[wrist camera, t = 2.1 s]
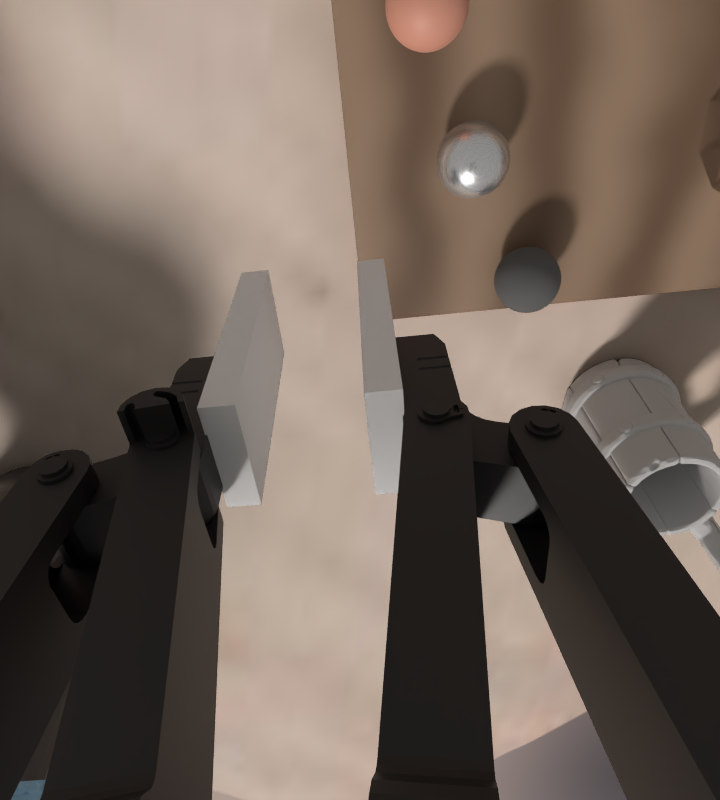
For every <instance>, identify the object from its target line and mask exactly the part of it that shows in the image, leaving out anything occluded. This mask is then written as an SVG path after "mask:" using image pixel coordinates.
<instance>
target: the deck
mask: <svg viewBox="0 0 720 800" xmlns="http://www.w3.org/2000/svg"><path fill="white" fill-rule="evenodd" d="M385 1H386V0H331V2H332V11H333V21H334V31H335V41H336V50H337V60H338V70H339V80H340V89H341V99H342V109H343V119H344V129H345V138H346V148H347V158H348V168H349V177H350V187H351V197H352V207H353V216H354V226H355V236H356V246H357V256H358V261H365V260H375V259H384V264H385V270H386V277H387V284H388V291H389V298H390V304H391V311H392V318H393V319H399V318H409V317H420V316H430V315H440V314H451V313H461V312H471V311H482V310H492V309H503V308H508V307H507V306H505V305H504V304H503V303H502V302H501V300H500V299H499V298H498V296H497V294H496V291H495V287H494V275H495V272H496V269H497V266H498V265H499V263H500V261H501V260H502V259H503V258H504V257H505V256H506V255H507V254H509V253H510V252H512V251H513V250H515V249H518V248H521V247H537V248H541V249H543V250H545V251H547V252H548V253H550V254H551V255H552V256H553V257H554V258H555V260H556V261H557V263H558V265H559V267H560V271H561V285H560V289H559V291H558V293H557V295H556V297H555V298H554V299H553V301H552V302H551V303H550V304H554V303H565V302H575V301H585V300H596V299H606V298H617V297H627V296H637V295H648V294H658V293H668V292H679V291H689V290H699V289H710V288H720V0H469V9H468V14H467V18H466V21H465V23H464V25H463V27H462V29H461V31H460V32H459V34H458V35H457V36H456V38H455V39H454V40H453V41H452V42H451V43H449V44H448V45H447V46H445V47H444V48H442V49H440V50H437V51H434V52H429V53H422V52H416V51H413V50H410V49H408V48H406V47H405V46H403V45H402V44H401V43H400V42H399V41H398V40H397V39H396V38H395V36H394V35H393V33H392V31H391V29H390V27H389V25H388V22H387V18H386V11H385ZM468 121H484V122H487V123H489V124H492V125H493V126H495V127H496V128H498V129H499V130H500V131H501V132H502V134H503V135H504V137H505V138H506V140H507V142H508V145H509V149H510V166H509V170H508V172H507V175H506V177H505V179H504V180H503V182H502V183H501V184H500V186H499V187H498V188H497V189H496V190H494V191H493V192H492V193H490V194H488V195H486V196H484V197H481V198H476V199H465V198H461V197H458V196H456V195H454V194H452V193H451V192H450V191H448V190H447V189H446V188H445V186H444V185H443V184H442V182H441V180H440V179H439V176H438V172H437V168H436V157H437V152H438V149H439V146H440V144H441V142H442V140H443V138H444V137H445V136H446V135H447V133H448V132H449V131H450V130H452V129H453V128H454V127H456V126H457V125H459V124H461V123H464V122H468Z"/></svg>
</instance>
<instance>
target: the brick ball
mask: <svg viewBox="0 0 720 800" xmlns="http://www.w3.org/2000/svg"><path fill="white" fill-rule="evenodd" d="M468 9H469V0H386V1H385V11H386V18H387V22H388V25H389V27H390V29H391V31H392V33H393V35H394V36H395V38H396V39H397V40H398V41H399V42H400V43H401V44H402V45H403V46H405V47H406V48H408V49H410V50H413V51H416V52H422V53H429V52H434V51H437V50H440V49H442V48H444V47H445V46H447V45H448V44H449V43H451V42H452V41H453V40H454V39H455V38H456V36H457V35H458V34H459V32H460V31H461V29H462V27H463V25H464V23H465V21H466V18H467V14H468Z"/></svg>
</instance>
